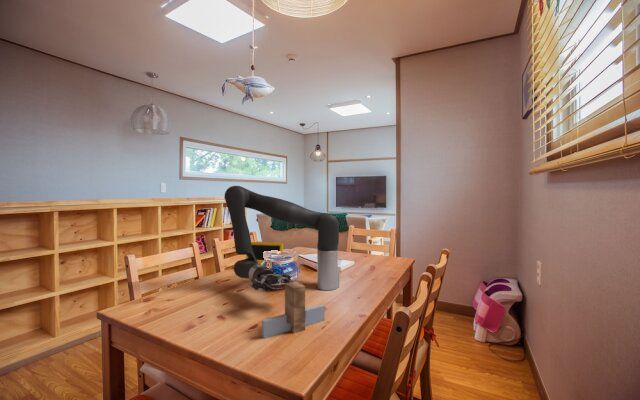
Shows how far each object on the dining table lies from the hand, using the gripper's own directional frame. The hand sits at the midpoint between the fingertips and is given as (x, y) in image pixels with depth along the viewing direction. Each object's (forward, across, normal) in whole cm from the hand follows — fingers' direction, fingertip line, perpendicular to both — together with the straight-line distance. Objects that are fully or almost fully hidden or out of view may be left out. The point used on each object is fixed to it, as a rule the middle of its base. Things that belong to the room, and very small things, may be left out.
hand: (279, 286), depth 106 cm
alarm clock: (-58, +20, +11) cm, 62 cm away
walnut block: (+11, 0, +10) cm, 15 cm away
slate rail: (+11, 0, +10) cm, 15 cm away
